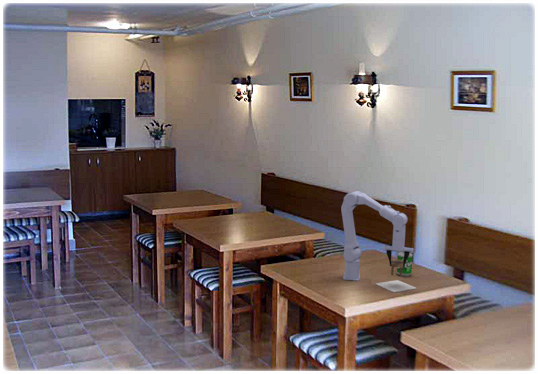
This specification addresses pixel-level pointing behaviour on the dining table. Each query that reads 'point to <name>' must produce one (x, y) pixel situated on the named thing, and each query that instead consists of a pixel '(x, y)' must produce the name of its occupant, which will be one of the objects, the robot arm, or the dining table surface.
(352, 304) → the dining table surface
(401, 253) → the soda can
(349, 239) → the robot arm
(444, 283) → the dining table surface
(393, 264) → the stool
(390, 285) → the mat
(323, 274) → the dining table surface
